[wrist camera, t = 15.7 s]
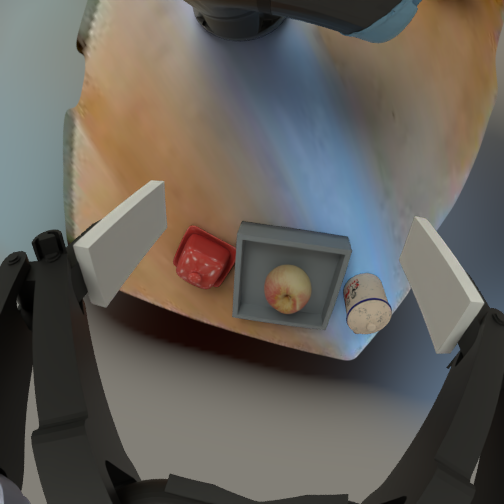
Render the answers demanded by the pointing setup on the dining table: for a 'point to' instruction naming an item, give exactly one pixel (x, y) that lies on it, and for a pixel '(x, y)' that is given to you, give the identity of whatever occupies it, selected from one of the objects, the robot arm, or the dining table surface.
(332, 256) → the bin
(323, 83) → the dining table surface
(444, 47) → the dining table surface
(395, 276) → the dining table surface
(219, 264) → the butter dish
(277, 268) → the apple
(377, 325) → the teacup with lid
